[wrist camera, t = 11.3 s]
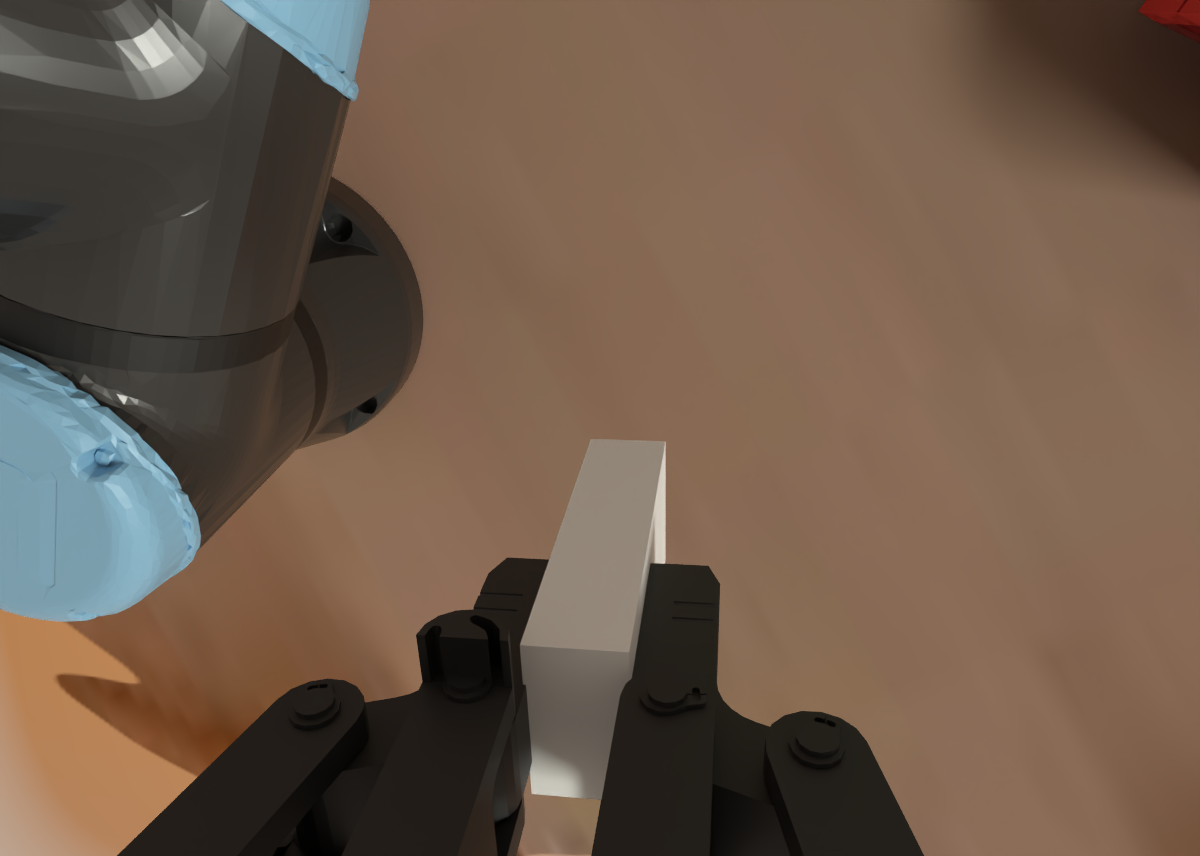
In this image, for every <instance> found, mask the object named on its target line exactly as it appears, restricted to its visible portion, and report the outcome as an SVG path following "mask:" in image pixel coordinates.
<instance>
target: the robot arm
mask: <svg viewBox="0 0 1200 856" xmlns="http://www.w3.org/2000/svg"><path fill="white" fill-rule="evenodd" d="M369 5H370V0H0V609H1V610H4V611H7V612H10V613H14V614H17V615H21V616H25V617H30V618H35V619H41V620H51V621H66V622H67V621H85V620H90V619H94V618H96V617H97V616H105V615H109V614H116V613H119V612H121V611H123V610H125V609H127V608H129V607H131V606H133V605H134V604H136V603H138V602H139V601H141V600H142V599H143V598H144V597H146V596H147V595H148V594H149V593H151V592H152V591H153V590H155V589H156V588H157V587H159V586H160V585H161V584H162V583H164V582H165V581H166V580H168V579H169V578H170V577H172V576H174V575H176V574H177V573H178V572H180V571H182V570H183V569H184V568H185V567H187V566H188V564H189V563H191V562H192V561H193V559H194V556H195V553H196V552H197V551H198V550H199V549H200V548H201V547H202V546H203V545H204V544H205V543H206V542H207V541H208V539H209V538H210V537H211V536H212V535H213V534H214V533H215V532H216V531H217V530H218V529H219V528H220V527H221V526H222V525H223V524H224V523H225V522H226V521H227V520H228V519H229V518H230V517H231V516H232V515H233V514H234V513H235V512H236V511H237V510H238V509H239V508H240V507H241V506H242V505H243V504H244V502H245V501H246V500H247V499H248V498H249V497H250V496H251V495H252V494H253V493H254V492H255V491H256V490H257V489H258V488H259V487H260V486H261V485H262V484H263V483H264V482H265V481H266V480H267V479H268V478H269V477H270V476H271V475H272V474H273V473H274V472H275V471H276V470H277V469H278V468H279V467H280V465H281V464H282V463H283V462H284V461H285V460H286V459H287V458H288V457H289V456H290V455H291V454H292V453H293V452H294V451H295V450H297V449H300V448H304V447H307V446H311V445H314V444H318V443H321V442H325V441H328V440H332V439H335V438H338V437H341V436H343V435H346V434H348V433H350V432H352V431H354V430H356V429H358V428H359V427H361V426H363V425H364V424H366V423H367V422H369V421H370V420H371V419H372V418H374V417H375V416H376V415H377V414H378V413H379V412H381V410H382V409H383V408H384V407H385V406H386V405H387V404H388V403H389V402H390V401H391V399H392V398H393V397H394V396H395V395H396V394H397V393H398V392H399V390H400V389H401V388H402V386H403V385H404V383H405V382H406V380H407V379H408V377H409V375H410V373H411V371H412V369H413V367H414V365H415V362H416V359H417V356H418V353H419V349H420V345H421V339H422V330H423V310H422V301H421V294H420V290H419V286H418V282H417V279H416V275H415V272H414V270H413V267H412V265H411V262H410V260H409V258H408V256H407V254H406V252H405V250H404V248H403V246H402V244H401V243H400V241H399V240H398V238H397V236H396V235H395V233H394V232H393V231H392V229H391V228H390V227H389V225H388V224H387V223H386V222H385V220H384V219H383V218H382V217H381V216H380V215H379V214H378V212H377V211H376V210H375V209H374V208H373V207H372V206H371V205H369V204H368V203H367V202H366V201H365V200H364V199H363V198H361V197H360V196H359V195H358V194H356V193H355V192H354V191H352V190H351V189H349V188H348V187H347V186H345V185H343V184H342V183H340V182H338V181H337V180H335V179H333V178H331V175H332V171H333V167H334V163H335V159H336V155H337V151H338V147H339V143H340V139H341V136H342V132H343V128H344V124H345V120H346V116H347V112H348V108H349V104H350V100H351V101H356V99H357V95H358V92H359V91H358V85H357V83H356V81H355V75H356V70H357V65H358V59H359V54H360V49H361V44H362V39H363V35H364V30H365V25H366V20H367V15H368V10H369ZM719 600H720V583H719V582H718V580H717V579H716V577H715V575H714V574H713V572H712V571H711V569H710V568H709V566H699V565H679V564H665V441H636V440H605V439H591V440H590V443H589V446H588V449H587V452H586V455H585V457H584V460H583V463H582V466H581V469H580V472H579V475H578V478H577V481H576V484H575V486H574V489H573V492H572V495H571V498H570V501H569V504H568V507H567V510H566V513H565V515H564V518H563V521H562V524H561V527H560V530H559V533H558V536H557V539H556V542H555V544H554V547H553V550H552V553H551V556H550V559H549V560H544V559H524V558H506V559H505V560H504V561H503V562H502V563H500V564H499V565H498V566H497V567H496V568H494V569H493V570H492V571H491V572H490V573H489V574H488V576H487V578H486V580H485V583H484V585H483V587H482V589H481V592H480V596H478V598H477V601H476V603H475V605H474V610H459V611H454V612H450V613H447V614H443V615H440V616H438V617H436V618H435V619H433V620H431V621H430V622H428V623H426V624H425V625H424V626H423V627H422V629H421V630H420V631H419V632H418V633H417V635H416V637H417V645H418V652H419V659H420V666H421V673H422V680H423V682H422V684H421V686H420V689H419V690H418V691H416V692H414V693H411V694H408V695H404V696H400V697H396V698H391V699H384V700H378V701H372V702H366V703H365V701H364V696H363V695H362V693H361V692H360V690H359V689H358V687H357V686H355V685H353V684H351V683H349V682H347V681H344V680H335V679H323V680H317V681H311V682H308V683H305V684H303V685H300V686H298V687H295V688H293V689H291V690H290V691H288V692H287V693H286V694H284V695H283V696H281V697H280V698H279V699H277V700H276V701H275V702H274V703H273V704H272V705H271V706H270V707H269V708H268V709H267V710H266V711H265V712H264V713H263V714H262V715H261V716H260V717H259V718H258V719H257V720H256V721H255V722H254V723H253V724H252V725H251V726H250V727H249V728H248V729H247V730H246V731H244V732H243V733H242V734H241V735H240V736H239V737H238V738H237V739H236V740H235V741H234V742H233V743H232V744H231V745H230V746H229V747H228V748H227V749H226V750H225V751H224V752H223V753H222V754H221V755H220V756H219V757H218V758H217V759H216V760H215V761H214V762H213V763H212V764H211V765H210V766H209V767H208V768H207V769H206V770H204V771H203V772H202V773H201V774H200V775H199V776H198V777H197V778H196V779H195V780H194V781H193V782H192V783H191V784H190V785H189V786H188V787H187V788H186V789H185V790H184V791H183V792H182V793H181V794H180V795H179V796H178V797H177V798H176V799H175V800H174V801H173V802H172V803H171V804H170V805H169V806H168V807H167V808H166V809H164V811H162V813H160V814H159V815H158V816H157V817H156V818H155V819H154V820H153V821H152V822H151V823H150V824H149V825H148V826H147V827H146V828H145V829H144V830H143V831H142V832H141V833H140V834H139V835H138V836H137V837H136V838H135V839H134V840H133V841H132V842H131V843H130V844H129V845H128V846H127V847H126V848H125V849H123V850H122V851H121V852H120V853H119V854H118V855H117V856H516V854H517V850H518V846H519V843H520V839H521V835H522V831H523V827H524V820H525V808H524V797H523V793H524V790H525V786H526V782H527V779H528V775H529V771H530V776H531V789H532V794H540V795H552V796H563V797H574V798H586V799H597V800H601V805H600V810H599V816H598V821H597V827H596V833H595V838H594V844H593V849H592V855H591V856H924V855H923V853H922V851H921V849H920V847H919V845H918V843H917V841H916V839H915V837H914V835H913V833H912V831H911V829H910V827H909V825H908V823H907V821H906V819H905V817H904V815H903V813H902V811H901V809H900V807H899V805H898V803H897V801H896V799H895V797H894V795H893V793H892V791H891V789H890V787H889V785H888V783H887V781H886V779H885V777H884V775H883V773H882V771H881V769H880V767H879V765H878V763H877V761H876V759H875V757H874V755H873V753H872V751H871V749H870V747H869V745H868V743H867V741H866V740H865V739H864V737H863V736H862V735H861V734H860V732H859V731H858V730H857V729H856V728H855V727H853V726H852V725H850V724H849V723H847V722H846V721H844V720H843V719H841V718H839V717H835V716H832V715H829V714H826V713H823V712H809V711H800V712H796V713H792V714H788V715H784V716H783V717H782V718H780V719H779V720H777V721H776V722H774V723H773V724H772V725H771V727H769V726H766V725H763V724H760V723H757V722H754V721H752V720H749V719H747V718H745V717H743V716H741V715H740V714H738V713H737V712H735V711H734V710H732V709H731V708H730V707H729V706H728V705H727V704H726V703H725V702H724V701H723V699H722V697H721V695H720V693H719V691H718V687H717V665H718V633H719Z"/></svg>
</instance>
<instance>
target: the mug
mask: <svg viewBox="0 0 1200 856" xmlns="http://www.w3.org/2000/svg"><path fill="white" fill-rule="evenodd" d="M1138 12H1140V13H1142V14H1143V15H1145V16H1147V17H1149V18H1150V19H1152V20H1154V21H1156V22H1157V23H1159V24H1161V25H1163V26H1166V27H1168V28H1170V29H1172V30H1174V31H1176V32H1178V33H1180V34H1182V35H1184V36H1186V37H1188V38H1190V39H1192V40H1194V41H1197V42H1199V43H1200V0H1146V1H1145V2H1144V4H1143V5H1142V7H1141V8H1140V10H1139V11H1138Z"/></svg>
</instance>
